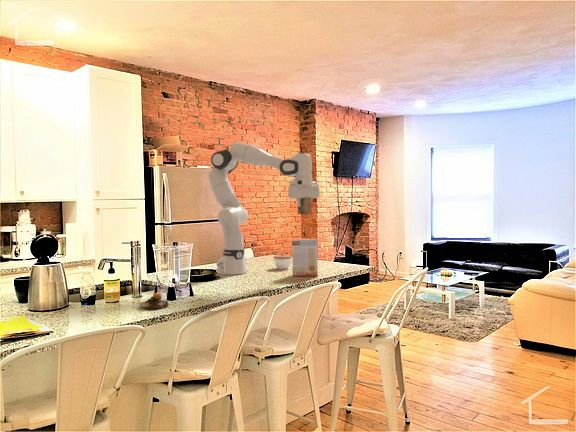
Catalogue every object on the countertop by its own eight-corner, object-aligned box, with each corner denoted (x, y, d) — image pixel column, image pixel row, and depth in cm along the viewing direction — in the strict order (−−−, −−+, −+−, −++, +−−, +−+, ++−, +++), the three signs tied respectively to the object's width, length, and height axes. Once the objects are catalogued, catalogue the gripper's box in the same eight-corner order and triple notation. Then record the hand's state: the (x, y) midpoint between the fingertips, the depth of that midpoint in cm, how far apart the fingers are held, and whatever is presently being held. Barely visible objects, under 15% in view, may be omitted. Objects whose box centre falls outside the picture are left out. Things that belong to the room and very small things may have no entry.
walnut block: (297, 214, 264) (297, 198, 264) (304, 213, 267) (304, 197, 267) (304, 214, 260) (304, 198, 259) (311, 214, 263) (311, 197, 262)
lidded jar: (271, 269, 287) (271, 254, 287) (277, 266, 297) (276, 252, 297) (288, 270, 284) (288, 254, 283) (293, 267, 294) (293, 252, 294)
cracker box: (317, 274, 268) (317, 238, 267) (317, 276, 262) (317, 239, 261) (293, 274, 269) (292, 238, 268) (292, 276, 263) (292, 239, 262)
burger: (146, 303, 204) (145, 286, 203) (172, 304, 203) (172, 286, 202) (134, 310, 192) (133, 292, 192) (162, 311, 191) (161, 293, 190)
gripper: (314, 181, 271) (314, 205, 272) (286, 181, 259) (286, 206, 260) (321, 181, 266) (322, 206, 267) (293, 181, 254) (293, 207, 255)
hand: (304, 206), depth 263 cm, fingers closed on walnut block, 5 cm apart
